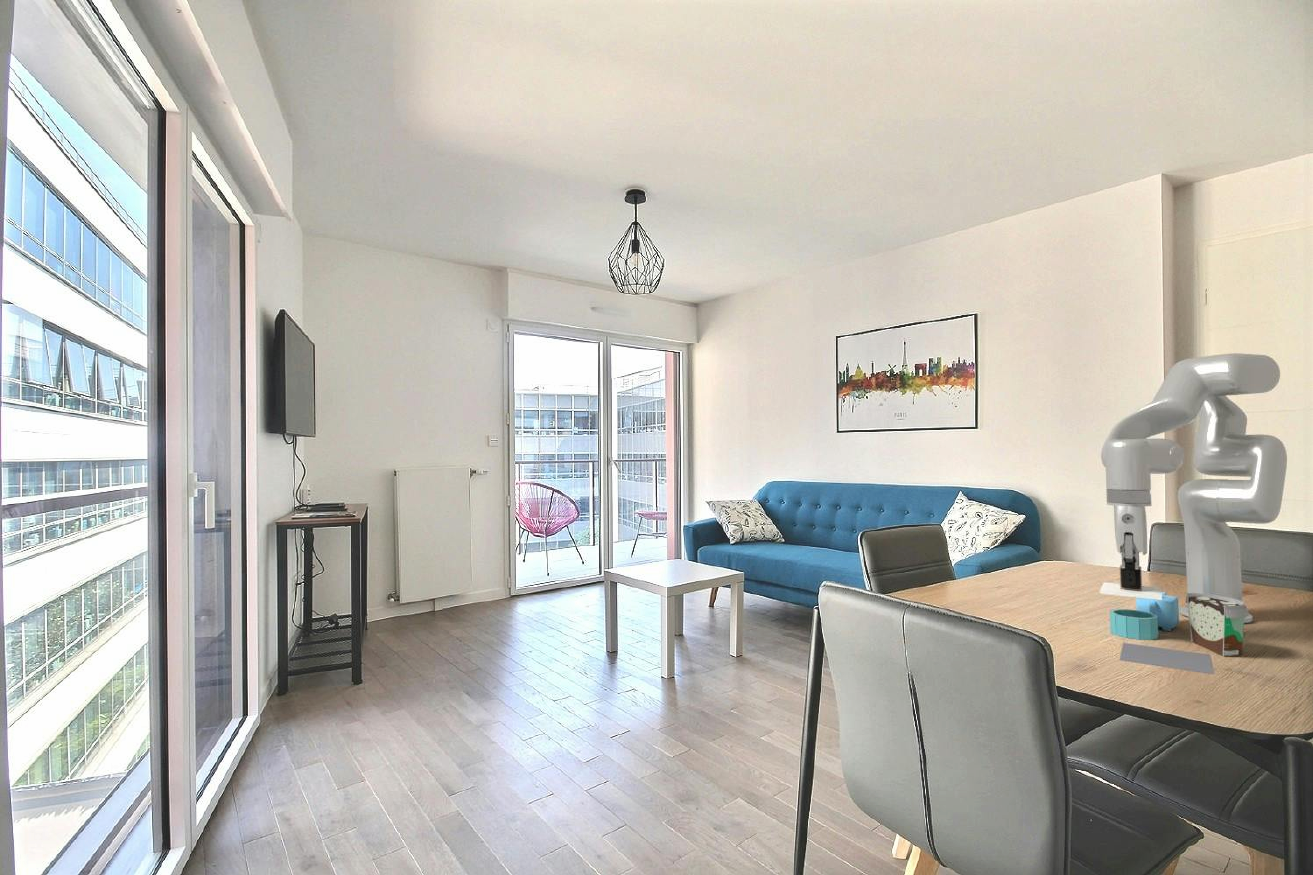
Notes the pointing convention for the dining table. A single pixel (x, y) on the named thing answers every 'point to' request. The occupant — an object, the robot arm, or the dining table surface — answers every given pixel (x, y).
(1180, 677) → the dining table surface
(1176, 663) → the mat
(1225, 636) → the food container
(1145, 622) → the bowl
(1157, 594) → the cube on white base
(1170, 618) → the teapot
